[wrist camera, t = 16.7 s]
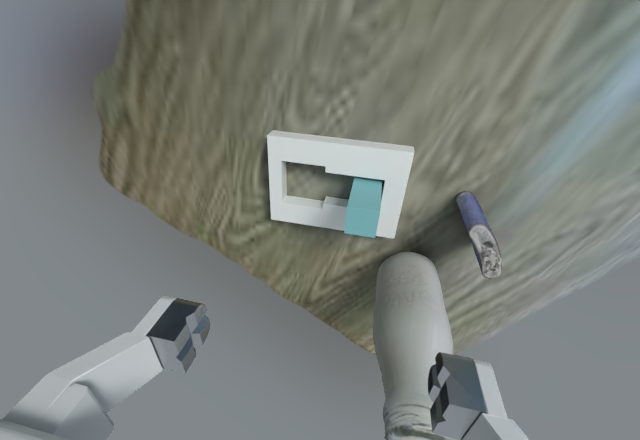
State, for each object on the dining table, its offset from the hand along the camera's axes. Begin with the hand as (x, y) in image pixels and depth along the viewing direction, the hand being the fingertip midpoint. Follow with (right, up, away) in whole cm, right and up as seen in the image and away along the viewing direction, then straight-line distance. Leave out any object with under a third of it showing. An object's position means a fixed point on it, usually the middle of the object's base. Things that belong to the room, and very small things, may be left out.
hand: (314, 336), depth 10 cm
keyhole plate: (+3, +10, +36) cm, 37 cm away
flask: (+23, +5, +34) cm, 42 cm away
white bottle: (+15, -3, +41) cm, 44 cm away
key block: (+7, +9, +35) cm, 37 cm away
